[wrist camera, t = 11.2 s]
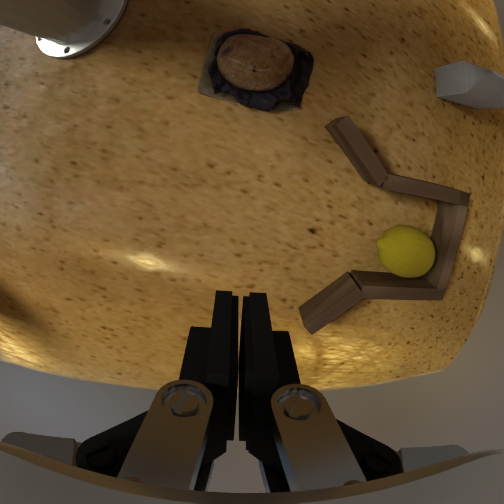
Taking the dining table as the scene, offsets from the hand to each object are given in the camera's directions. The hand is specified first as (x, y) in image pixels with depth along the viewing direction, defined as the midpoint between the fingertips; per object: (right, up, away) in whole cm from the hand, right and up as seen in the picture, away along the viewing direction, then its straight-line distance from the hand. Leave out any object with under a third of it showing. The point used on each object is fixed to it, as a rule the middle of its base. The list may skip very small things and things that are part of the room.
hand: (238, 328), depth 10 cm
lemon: (+13, +4, +19) cm, 24 cm away
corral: (+15, +5, +22) cm, 27 cm away
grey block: (+25, +22, +16) cm, 37 cm away
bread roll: (+1, +21, +16) cm, 27 cm away
